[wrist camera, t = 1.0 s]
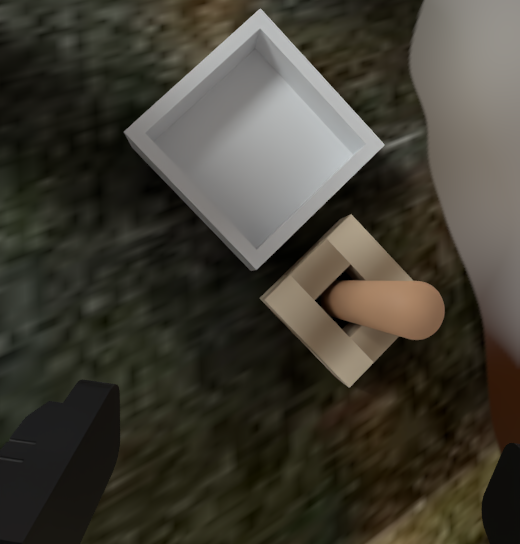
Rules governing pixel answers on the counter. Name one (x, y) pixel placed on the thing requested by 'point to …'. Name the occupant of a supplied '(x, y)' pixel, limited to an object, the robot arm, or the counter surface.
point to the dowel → (386, 306)
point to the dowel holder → (316, 278)
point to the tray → (253, 140)
